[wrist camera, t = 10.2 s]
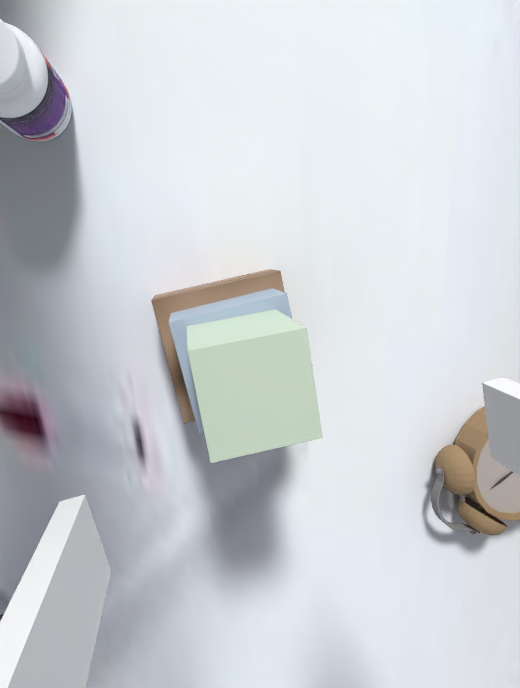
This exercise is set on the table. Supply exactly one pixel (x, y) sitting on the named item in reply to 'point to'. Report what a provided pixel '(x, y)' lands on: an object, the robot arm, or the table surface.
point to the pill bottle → (30, 89)
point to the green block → (253, 383)
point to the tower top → (215, 312)
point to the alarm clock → (476, 481)
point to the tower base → (199, 297)
